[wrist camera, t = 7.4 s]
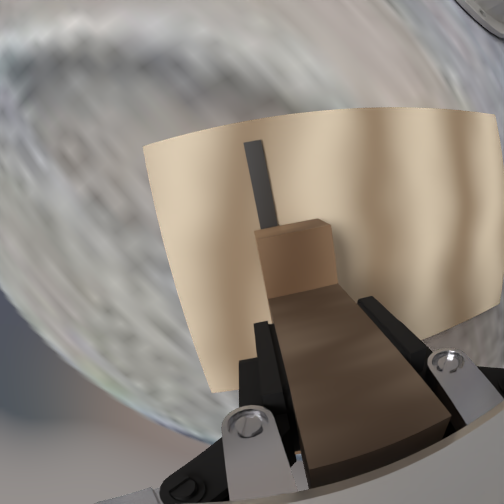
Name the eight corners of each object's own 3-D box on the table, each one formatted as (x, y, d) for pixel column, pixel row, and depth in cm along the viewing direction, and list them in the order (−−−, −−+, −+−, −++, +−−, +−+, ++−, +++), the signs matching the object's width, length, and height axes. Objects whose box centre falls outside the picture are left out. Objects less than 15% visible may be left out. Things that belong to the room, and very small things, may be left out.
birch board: (477, 117, 14) (495, 114, 12) (484, 294, 17) (500, 304, 15) (154, 150, 14) (142, 146, 12) (213, 373, 17) (211, 394, 15)
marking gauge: (335, 208, 15) (525, 283, 3) (348, 386, 18) (414, 523, 6) (223, 230, 15) (178, 390, 3) (265, 405, 18) (285, 561, 6)
